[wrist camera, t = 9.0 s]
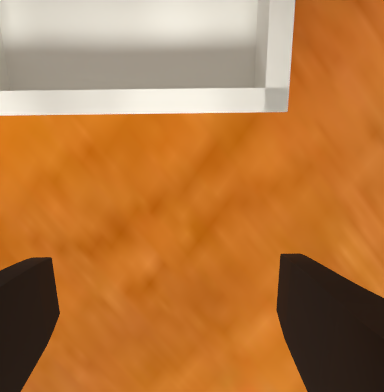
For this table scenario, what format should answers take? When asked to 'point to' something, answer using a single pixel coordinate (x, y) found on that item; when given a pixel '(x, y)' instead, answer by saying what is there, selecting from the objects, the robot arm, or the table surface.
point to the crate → (144, 56)
